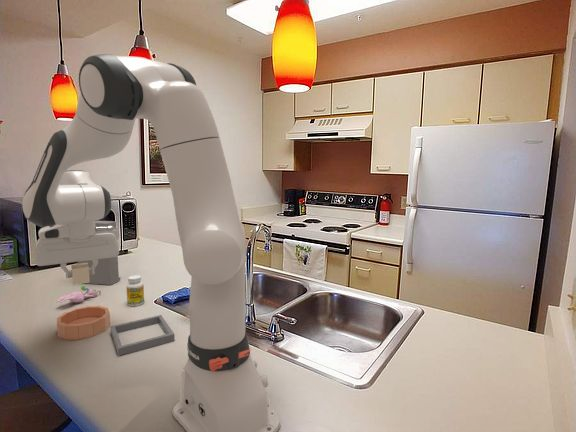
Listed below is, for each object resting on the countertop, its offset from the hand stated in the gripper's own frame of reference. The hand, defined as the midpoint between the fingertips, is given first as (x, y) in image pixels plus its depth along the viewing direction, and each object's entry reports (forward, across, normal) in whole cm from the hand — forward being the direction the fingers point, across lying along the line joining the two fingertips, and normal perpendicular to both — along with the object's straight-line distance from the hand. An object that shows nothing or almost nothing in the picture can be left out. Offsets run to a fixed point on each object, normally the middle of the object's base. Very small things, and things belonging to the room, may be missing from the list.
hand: (80, 275), depth 95 cm
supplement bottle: (+16, -16, -11) cm, 25 cm away
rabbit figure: (+16, 0, -23) cm, 28 cm away
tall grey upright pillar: (+16, -8, -41) cm, 45 cm away
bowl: (+16, 0, 0) cm, 16 cm away
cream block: (+2, 0, 0) cm, 2 cm away
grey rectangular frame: (+16, -13, +14) cm, 25 cm away
